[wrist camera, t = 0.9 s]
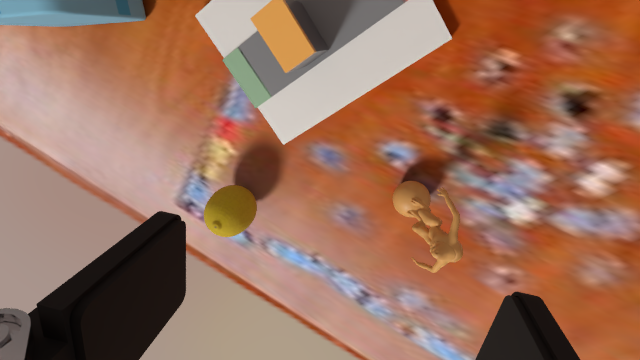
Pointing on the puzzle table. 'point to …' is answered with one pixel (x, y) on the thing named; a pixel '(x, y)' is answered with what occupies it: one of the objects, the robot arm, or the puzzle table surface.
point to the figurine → (429, 223)
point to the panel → (331, 67)
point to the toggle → (289, 34)
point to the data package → (69, 12)
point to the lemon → (230, 211)
